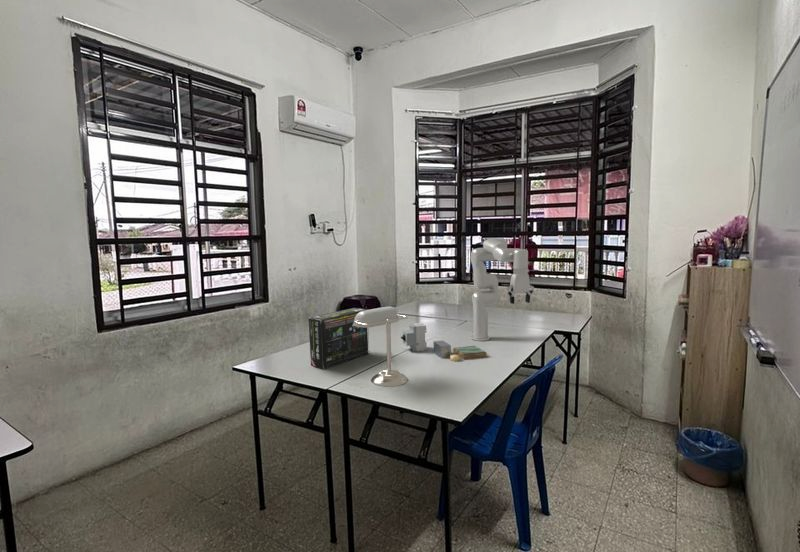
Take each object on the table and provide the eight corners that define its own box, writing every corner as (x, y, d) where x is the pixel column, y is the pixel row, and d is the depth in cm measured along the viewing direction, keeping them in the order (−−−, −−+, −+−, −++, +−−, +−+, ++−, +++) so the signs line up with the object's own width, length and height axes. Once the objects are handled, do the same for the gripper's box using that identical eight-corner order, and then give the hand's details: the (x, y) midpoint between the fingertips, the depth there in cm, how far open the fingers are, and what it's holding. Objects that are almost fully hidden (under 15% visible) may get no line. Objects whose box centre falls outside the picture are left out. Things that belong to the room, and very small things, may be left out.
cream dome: (448, 359, 232) (448, 355, 232) (457, 358, 234) (457, 354, 233) (452, 362, 227) (452, 357, 227) (460, 361, 229) (460, 356, 229)
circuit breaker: (400, 349, 253) (399, 324, 252) (422, 346, 258) (421, 323, 256) (404, 352, 246) (403, 327, 244) (426, 350, 250) (426, 325, 249)
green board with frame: (453, 352, 244) (453, 347, 244) (474, 350, 248) (474, 345, 248) (463, 359, 231) (463, 354, 231) (486, 356, 235) (486, 351, 235)
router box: (356, 350, 251) (355, 307, 248) (369, 353, 244) (368, 309, 241) (308, 365, 224) (306, 316, 221) (322, 370, 217) (320, 319, 214)
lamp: (389, 366, 221) (388, 303, 218) (421, 377, 203) (421, 309, 200) (348, 378, 203) (346, 310, 200) (380, 392, 186) (378, 317, 182)
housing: (433, 353, 244) (433, 341, 244) (443, 352, 246) (442, 340, 245) (441, 358, 234) (441, 346, 233) (450, 357, 236) (450, 345, 235)
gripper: (530, 270, 233) (529, 300, 235) (502, 272, 228) (502, 302, 230) (538, 271, 226) (537, 303, 228) (510, 273, 221) (509, 305, 223)
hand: (519, 302), depth 229 cm, fingers open, 9 cm apart
